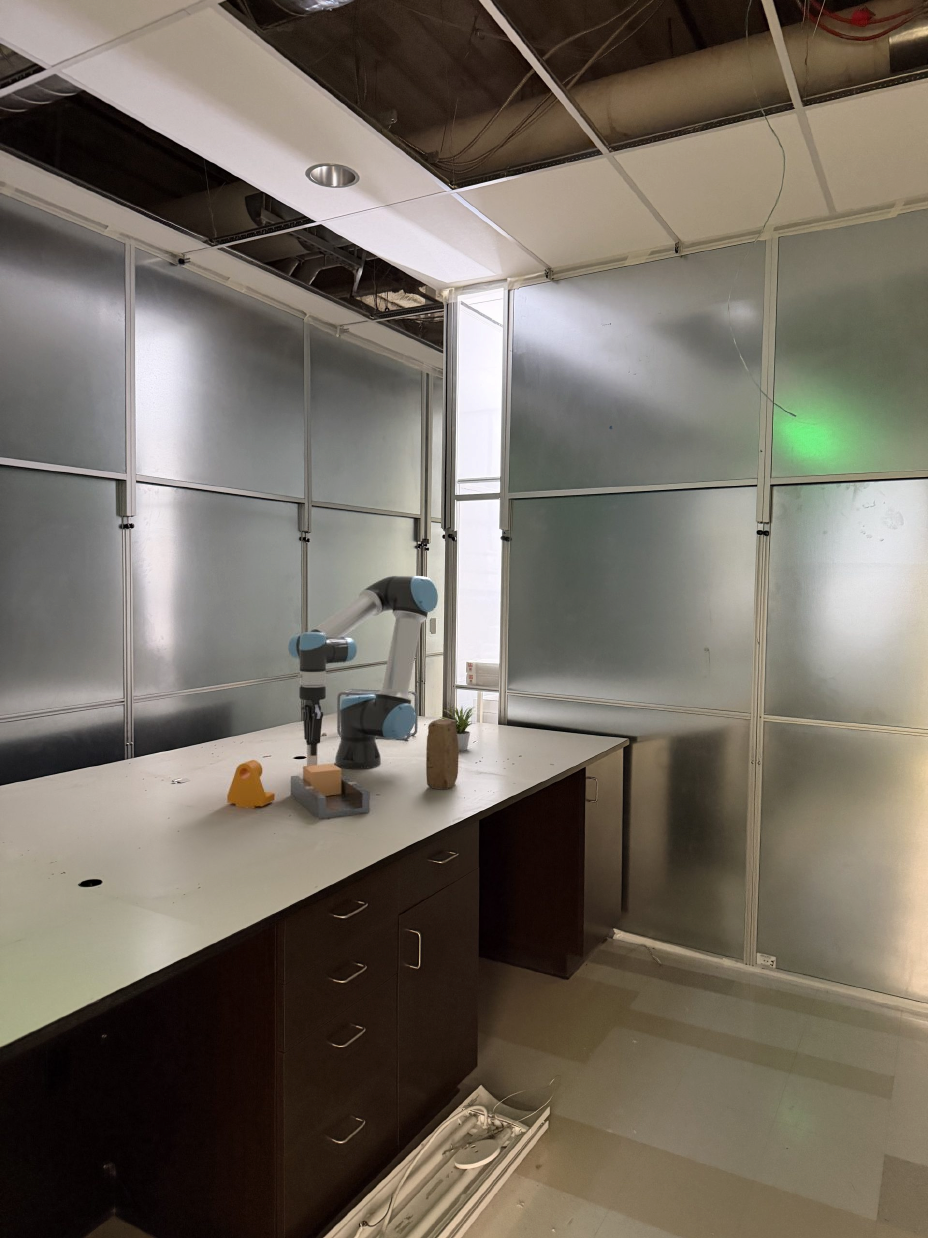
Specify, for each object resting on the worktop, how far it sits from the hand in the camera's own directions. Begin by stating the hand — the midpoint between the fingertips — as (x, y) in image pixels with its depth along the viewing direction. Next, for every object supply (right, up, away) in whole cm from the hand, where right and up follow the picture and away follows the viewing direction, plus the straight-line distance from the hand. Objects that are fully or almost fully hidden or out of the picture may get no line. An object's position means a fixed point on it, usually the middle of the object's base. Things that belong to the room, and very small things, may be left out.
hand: (312, 766), depth 239 cm
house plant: (+43, -5, +62) cm, 76 cm away
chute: (+7, -8, -13) cm, 17 cm away
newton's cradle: (+10, -4, +84) cm, 85 cm away
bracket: (-14, -8, -14) cm, 21 cm away
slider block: (+4, -6, -8) cm, 11 cm away
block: (+38, -8, +8) cm, 39 cm away
